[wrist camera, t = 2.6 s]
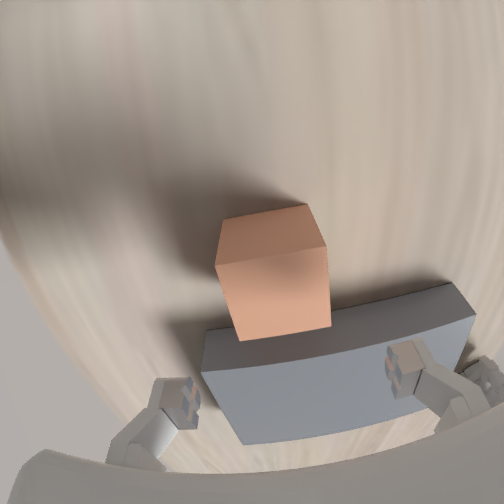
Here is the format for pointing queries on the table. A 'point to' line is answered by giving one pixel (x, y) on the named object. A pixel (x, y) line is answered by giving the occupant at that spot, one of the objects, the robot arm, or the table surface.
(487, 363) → the mug
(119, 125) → the table surface
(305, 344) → the stand
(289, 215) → the cube
